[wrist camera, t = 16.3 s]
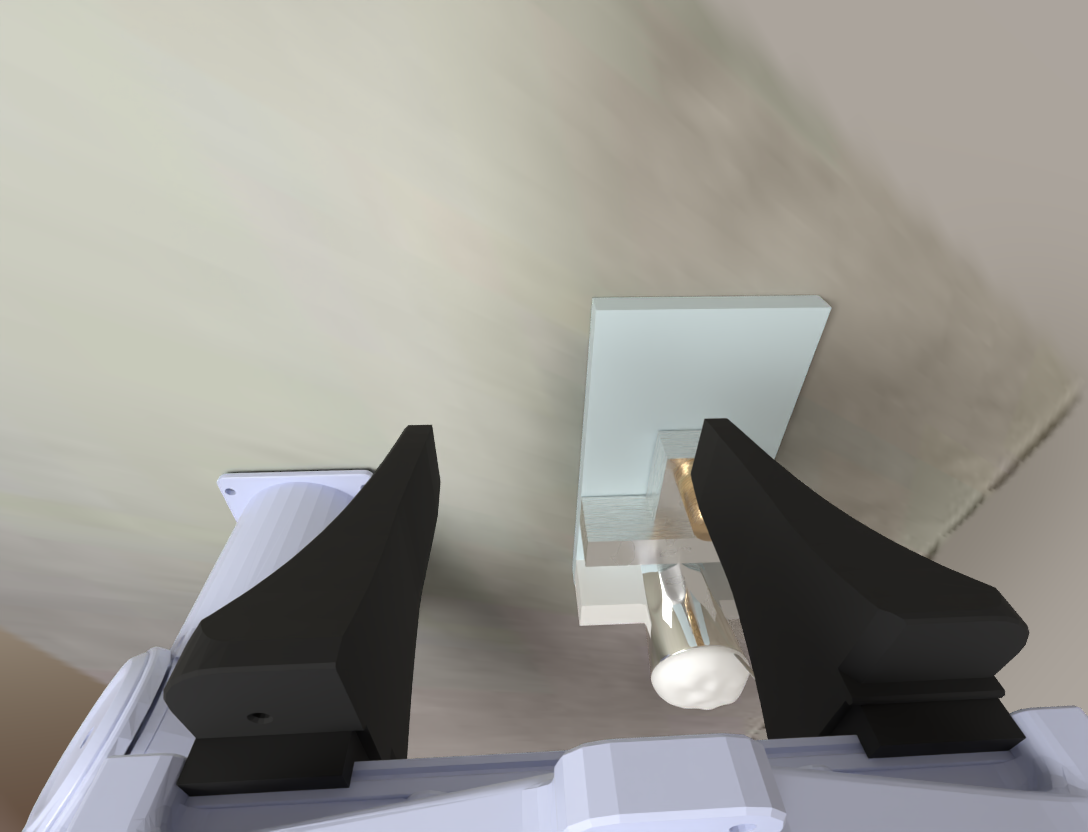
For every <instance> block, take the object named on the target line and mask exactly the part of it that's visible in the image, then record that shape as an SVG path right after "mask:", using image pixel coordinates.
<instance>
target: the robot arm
mask: <svg viewBox="0 0 1088 832" xmlns="http://www.w3.org/2000/svg"><path fill="white" fill-rule="evenodd" d="M690 475H691V479H692V483H693V488H694V492H695V496H696V500H697V503H698V507H699V510H700V513H701V515H702V518H703V520H704V523H705V525H706V528H707V530H708V533H709V535H710V538H711V540H712V543H713V545H714V548H715V550H716V552H717V555H718V557H719V560H720V562H721V565H722V567H723V570H724V572H725V575H726V577H727V580H728V583H729V585H730V588H731V591H732V594H733V597H734V601H735V604H736V608H737V611H738V615H739V618H740V622H741V625H742V629H743V633H744V637H745V641H746V644H747V648H748V652H749V656H750V660H751V664H752V668H753V672H754V677H755V681H756V685H757V690H758V694H759V699H760V703H761V708H762V713H763V718H764V723H765V728H766V733H767V737H768V740H754V739H752V738H750V737H748V736H746V735H742V734H727V733H717V734H698V735H679V736H660V737H641V738H622V739H607V740H600V741H594V742H588V743H583V744H581V745H579V746H577V747H574V748H572V749H570V750H564V751H546V752H527V753H508V754H490V755H471V756H452V757H434V758H415V759H407V751H408V735H409V720H410V707H411V694H412V681H413V670H414V659H415V648H416V637H417V628H418V618H419V608H420V602H421V595H422V589H423V585H424V580H425V575H426V570H427V565H428V561H429V556H430V551H431V546H432V541H433V537H434V532H435V527H436V522H437V517H438V506H439V494H440V475H439V469H438V462H437V455H436V449H435V442H434V435H433V428H432V425H408V426H407V427H406V428H405V429H404V431H403V432H402V434H401V435H400V437H399V438H398V440H397V442H396V443H395V445H394V446H393V447H392V449H391V450H390V452H389V453H388V455H387V456H386V458H385V459H384V460H383V462H382V463H381V464H380V466H379V467H378V468H377V470H376V471H375V472H374V474H373V473H372V472H370V471H368V470H337V471H299V472H262V473H226V474H222V475H221V476H220V477H219V479H218V481H217V485H218V487H219V489H220V491H221V493H222V494H223V496H224V498H225V500H226V502H227V504H228V506H229V508H230V510H231V512H232V514H233V516H234V518H235V520H236V522H237V524H236V526H235V528H234V529H233V531H232V533H231V535H230V537H229V539H228V541H227V543H226V545H225V547H224V549H223V550H222V552H221V554H220V556H219V558H218V560H217V562H216V564H215V566H214V568H213V569H212V571H211V573H210V575H209V577H208V579H207V581H206V583H205V585H204V587H203V588H202V590H201V592H200V594H199V596H198V598H197V600H196V602H195V604H194V606H193V608H192V609H191V611H190V613H189V615H188V617H187V619H186V621H185V623H184V625H183V627H182V628H181V630H180V632H179V634H178V636H177V638H176V640H175V642H174V644H173V646H172V647H171V648H170V649H169V650H167V649H164V648H161V647H153V648H151V649H149V650H148V651H147V652H146V653H142V654H140V655H137V656H135V657H133V658H131V659H129V660H128V661H127V662H126V663H125V664H124V665H123V667H122V668H121V669H120V670H119V671H118V673H117V674H116V675H115V677H114V678H113V679H112V681H111V682H110V683H109V685H108V686H107V688H106V689H105V690H104V692H103V693H102V695H101V696H100V698H99V699H98V701H97V702H96V703H95V705H94V706H93V708H92V710H91V711H90V713H89V714H88V716H87V717H86V719H85V720H84V722H83V723H82V725H81V726H80V728H79V730H78V731H77V733H76V734H75V736H74V737H73V739H72V741H71V742H70V744H69V746H68V747H67V749H66V750H65V752H64V754H63V755H62V757H61V759H60V761H59V762H58V764H57V766H56V767H55V769H54V771H53V772H52V774H51V776H50V778H49V780H48V781H47V783H46V785H45V787H44V788H43V790H42V792H41V794H40V796H39V798H38V800H37V802H36V804H35V805H34V807H33V810H32V812H31V814H30V816H29V818H28V821H27V824H26V826H25V827H24V829H23V831H22V832H1088V716H1087V715H1086V714H1085V713H1084V711H1083V710H1082V709H1081V708H1080V707H1077V706H1057V707H1037V708H1026V709H1020V710H1017V711H1014V712H1012V713H1010V714H1009V712H1008V711H1007V710H1006V708H1005V707H1004V705H1003V704H1002V703H1001V701H1000V700H999V698H1002V697H1003V696H1004V695H1005V690H1004V689H1003V687H1002V686H1001V684H1000V683H999V682H998V680H997V679H996V678H995V676H994V675H995V674H996V673H997V672H999V671H1000V670H1001V669H1002V668H1003V667H1004V666H1005V665H1006V664H1007V663H1008V662H1009V661H1010V660H1012V659H1013V658H1014V657H1015V656H1016V655H1017V654H1018V653H1019V652H1020V651H1021V649H1022V648H1023V647H1024V646H1025V645H1026V642H1027V639H1028V635H1029V630H1028V626H1027V625H1026V623H1025V622H1024V621H1023V620H1022V618H1021V617H1020V616H1019V615H1018V614H1017V613H1016V611H1015V610H1014V609H1013V608H1012V607H1011V605H1010V604H1009V603H1008V602H1007V601H1006V599H1005V598H1004V597H1003V596H1002V595H1001V593H1000V592H999V591H998V590H997V589H996V588H994V587H992V586H990V585H987V584H985V583H983V582H980V581H978V580H975V579H973V578H970V577H968V576H966V575H963V574H961V573H959V572H956V571H954V570H951V569H949V568H947V567H944V566H942V565H940V564H938V563H936V562H934V561H932V560H930V559H928V558H925V557H923V556H921V555H919V554H917V553H915V552H913V551H911V550H909V549H907V548H905V547H903V546H901V545H899V544H897V543H895V542H894V541H892V540H890V539H888V538H886V537H885V536H883V535H881V534H879V533H878V532H876V531H874V530H872V529H870V528H869V527H867V526H865V525H864V524H862V523H860V522H859V521H857V520H855V519H854V518H852V517H851V516H849V515H848V514H846V513H845V512H843V511H842V510H840V509H838V508H837V507H835V506H834V505H832V504H831V503H829V502H828V501H827V500H825V499H824V498H822V497H821V496H819V495H818V494H817V493H815V492H814V491H813V490H811V489H810V488H809V487H808V486H806V485H805V484H804V483H802V482H801V481H800V480H798V479H797V478H796V477H795V476H793V475H792V474H791V473H790V472H788V471H787V470H786V469H785V468H784V467H782V466H781V465H780V464H779V463H778V462H776V461H775V460H774V459H773V458H772V457H771V456H769V455H768V454H767V453H766V452H765V451H764V450H763V449H761V448H760V447H759V446H758V445H757V444H756V443H755V442H754V441H753V440H751V439H750V438H749V437H748V436H747V435H746V434H745V433H744V432H742V431H741V430H740V429H739V428H738V427H737V426H736V425H735V424H733V423H732V422H731V421H730V420H729V419H727V418H708V419H704V422H703V426H702V430H701V434H700V438H699V442H698V446H697V450H696V454H695V458H694V462H693V466H692V470H691V474H690ZM364 484H365V485H364ZM232 489H233V490H232Z"/></svg>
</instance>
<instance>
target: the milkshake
mask: <svg viewBox="0 0 1088 832" xmlns="http://www.w3.org/2000/svg"><path fill="white" fill-rule="evenodd" d="M637 572H638V578H639V585H640V592H641V599H642V606H643V613H644V620H645V628H646V637H647V646H648V655H649V663H650V672H651V681H652V684H653V687H654V689H655V690H656V692H657V693H658V694H659V696H660V697H661V698H662V699H664V700H665V701H666V702H668V703H669V704H672V705H674V706H678V707H681V708H685V709H690V708H698V709H704V710H711V709H714V708H716V707H718V706H721V705H726V704H731V703H733V702H734V701H736V700H737V699H738V697H739V696H740V694H741V693H742V691H743V688H744V686H745V684H746V681H747V679H748V677H749V674H751V676H752V677H753V678H754V679H755V677H754V672H753V670H752V669H751V668H750V666H749V663H748V661H747V659H746V657H745V655H744V653H743V651H742V649H741V646H740V644H739V642H738V640H737V638H736V636H735V634H734V632H733V630H732V628H731V626H730V623H729V621H728V619H727V617H726V615H725V613H724V611H723V609H722V607H721V604H720V602H719V600H718V598H717V595H716V593H715V591H714V588H713V586H712V584H711V582H710V579H709V577H708V575H707V573H706V570H705V568H704V566H703V564H702V563H679V564H653V565H637Z"/></svg>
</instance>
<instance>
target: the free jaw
mask: <svg viewBox="0 0 1088 832" xmlns="http://www.w3.org/2000/svg"><path fill="white" fill-rule="evenodd" d="M700 434H701V430H686V431H658V433H657V438H656V444H655V449H654V454H653V460H652V465H651V470H650V476H649V481H648V487H647V492H646V495H644V496H611V497H581V510H580V530H581V537H582V544H583V551H584V559H585V566H586V567H598V566H626V565H653V564H679V563H708V562H720V560H719V557H718V555H717V552H716V550H715V548H714V545H713V543H712V540H711V538H710V535H709V533H708V530H707V528H706V525H705V523H704V520H703V518H702V515H701V513H700V510H699V507H698V503H697V500H696V496H695V492H694V488H693V483H692V479H691V475H690V474H691V470H692V466H693V462H694V458H695V454H696V450H697V446H698V442H699V438H700Z"/></svg>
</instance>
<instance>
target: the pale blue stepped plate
mask: <svg viewBox="0 0 1088 832" xmlns="http://www.w3.org/2000/svg"><path fill="white" fill-rule="evenodd" d="M831 308H832V307H831V306H830V305H828V304H827V303H826V302H825V301H824V300H823V299H822V298H821V297H820V296H819V295H789V296H700V297H611V298H592V311H591V325H590V338H589V352H588V365H587V379H586V392H585V405H584V419H583V432H582V446H581V459H580V473H579V486H578V500H577V513H576V527H575V540H574V554H573V567H572V570H573V579H574V585H575V588H576V597H577V605H578V614H579V623H580V626H584V625H608V624H632V623H645V620H644V613H643V606H642V599H641V592H640V585H639V578H638V572H637V565H626V566H598V567H586V566H585V559H584V551H583V544H582V537H581V530H580V510H581V497H611V496H644V495H646V492H647V487H648V481H649V476H650V470H651V465H652V460H653V454H654V449H655V444H656V438H657V433H658V431H686V430H702V426H703V422H704V419H708V418H727V419H729V420H730V421H731V422H732V423H733V424H735V425H736V426H737V427H738V428H739V429H740V430H741V431H742V432H744V433H745V434H746V435H747V436H748V437H749V438H750V439H751V440H753V441H754V442H755V443H756V444H757V445H758V446H759V447H760V448H761V449H763V450H764V451H765V452H766V453H767V454H768V455H769V456H771V457H772V458H773V459H775V456H776V454H777V451H778V448H779V446H780V443H781V440H782V438H783V435H784V433H785V430H786V427H787V425H788V422H789V419H790V417H791V414H792V411H793V409H794V406H795V403H796V401H797V398H798V395H799V393H800V390H801V387H802V385H803V382H804V379H805V377H806V374H807V372H808V369H809V366H810V364H811V361H812V358H813V356H814V353H815V350H816V348H817V345H818V342H819V340H820V337H821V334H822V332H823V329H824V326H825V324H826V321H827V318H828V316H829V313H830V310H831ZM702 564H703V566H704V568H705V570H706V573H707V575H708V577H709V579H710V582H711V584H712V586H713V588H714V591H715V593H716V595H717V598H718V600H719V602H720V604H721V607H722V609H723V611H724V613H725V615H726V617H727V619H740V618H739V615H738V611H737V608H736V604H735V601H734V597H733V594H732V591H731V588H730V585H729V583H728V580H727V577H726V575H725V572H724V570H723V567H722V565H721V562H708V563H702Z"/></svg>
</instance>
